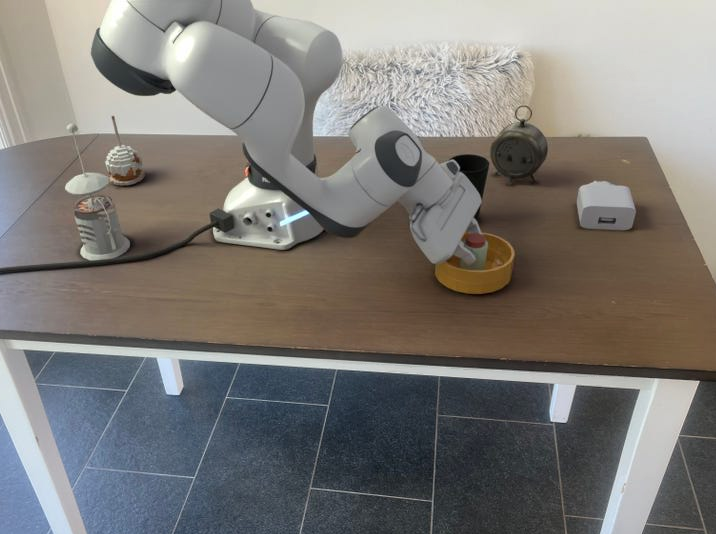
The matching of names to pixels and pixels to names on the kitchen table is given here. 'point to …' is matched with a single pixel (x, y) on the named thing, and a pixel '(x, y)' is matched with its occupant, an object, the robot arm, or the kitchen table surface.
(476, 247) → the container
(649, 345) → the kitchen table surface
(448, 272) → the bowl
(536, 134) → the alarm clock
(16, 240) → the kitchen table surface
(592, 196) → the charger
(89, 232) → the french press
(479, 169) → the cup
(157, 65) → the robot arm
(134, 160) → the caramel apple
